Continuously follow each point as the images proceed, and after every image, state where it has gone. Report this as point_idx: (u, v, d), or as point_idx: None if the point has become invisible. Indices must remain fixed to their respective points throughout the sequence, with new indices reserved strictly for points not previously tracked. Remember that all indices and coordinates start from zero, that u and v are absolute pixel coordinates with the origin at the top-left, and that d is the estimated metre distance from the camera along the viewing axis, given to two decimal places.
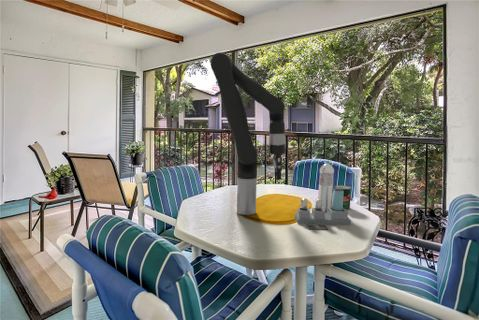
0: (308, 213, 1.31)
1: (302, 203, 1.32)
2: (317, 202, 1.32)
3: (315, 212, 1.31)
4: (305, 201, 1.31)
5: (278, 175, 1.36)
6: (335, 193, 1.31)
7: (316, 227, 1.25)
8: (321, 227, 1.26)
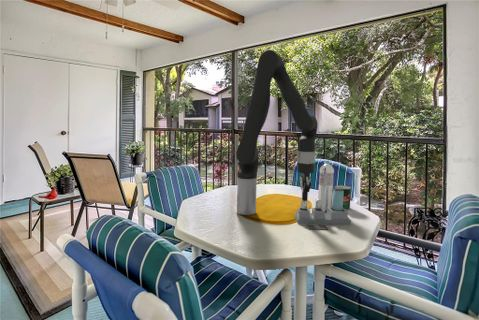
0: (308, 213, 1.31)
1: (302, 204, 1.32)
2: (317, 202, 1.32)
3: (315, 212, 1.31)
4: (305, 202, 1.31)
5: (304, 196, 1.31)
6: (335, 193, 1.31)
7: (316, 227, 1.25)
8: (321, 227, 1.26)
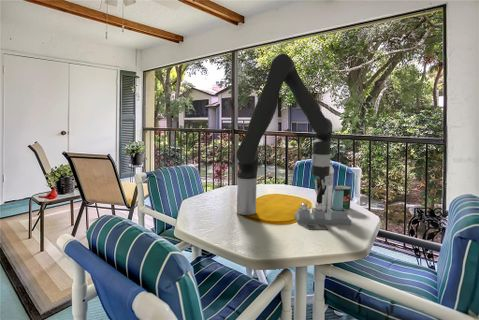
0: (308, 213, 1.31)
1: (302, 208, 1.32)
2: (317, 205, 1.32)
3: (315, 212, 1.31)
4: (305, 206, 1.32)
5: (319, 199, 1.31)
6: (335, 193, 1.31)
7: (316, 227, 1.25)
8: (321, 227, 1.26)
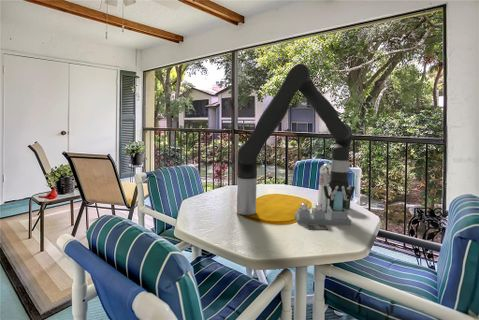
0: (308, 213, 1.31)
1: (302, 208, 1.32)
2: (317, 207, 1.32)
3: (315, 212, 1.31)
4: (305, 206, 1.32)
5: (329, 202, 1.34)
6: None
7: (316, 227, 1.25)
8: (321, 227, 1.26)
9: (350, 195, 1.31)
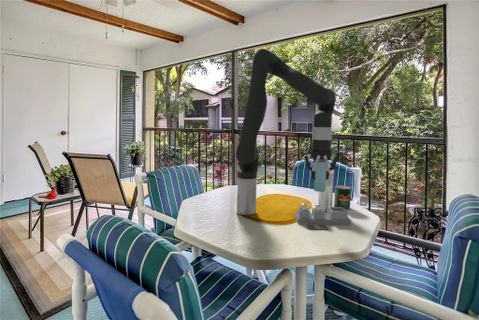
0: (308, 213, 1.31)
1: (302, 208, 1.32)
2: (317, 207, 1.32)
3: (315, 212, 1.31)
4: (305, 206, 1.32)
5: (311, 174, 1.24)
6: (316, 164, 1.21)
7: (316, 227, 1.25)
8: (321, 227, 1.26)
9: (333, 166, 1.21)
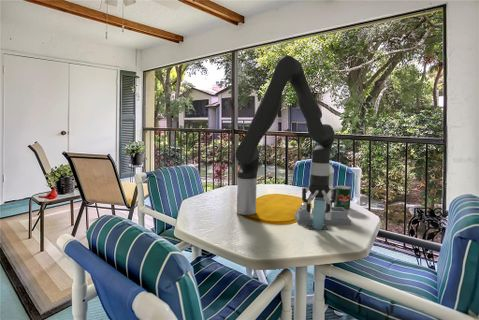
0: (308, 213, 1.31)
1: (302, 208, 1.32)
2: None
3: None
4: (305, 206, 1.32)
5: (306, 206, 1.26)
6: (314, 202, 1.23)
7: None
8: None
9: (334, 199, 1.23)
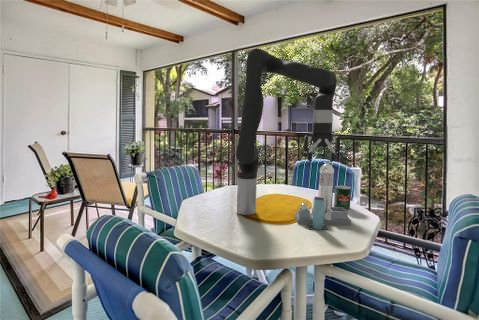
0: (308, 213, 1.31)
1: (302, 208, 1.32)
2: None
3: None
4: (305, 206, 1.32)
5: (307, 156, 1.22)
6: (314, 202, 1.23)
7: None
8: None
9: (338, 147, 1.20)
